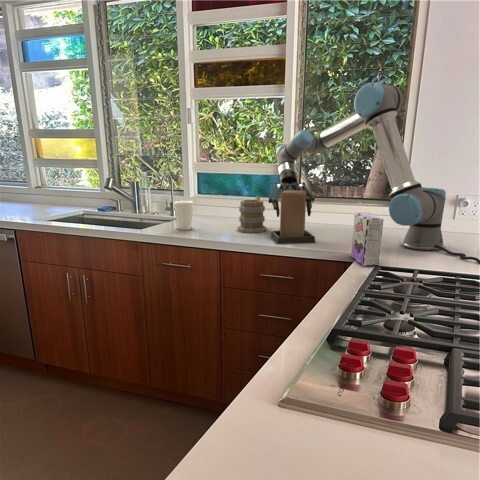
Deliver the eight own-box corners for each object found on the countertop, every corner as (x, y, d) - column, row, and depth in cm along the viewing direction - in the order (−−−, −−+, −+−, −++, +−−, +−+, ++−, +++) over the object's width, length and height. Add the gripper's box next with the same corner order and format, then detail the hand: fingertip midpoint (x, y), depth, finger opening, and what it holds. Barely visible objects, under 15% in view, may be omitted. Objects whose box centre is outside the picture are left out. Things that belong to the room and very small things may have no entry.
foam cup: (198, 228, 231) (197, 201, 226) (186, 231, 224) (185, 203, 219) (183, 226, 236) (181, 200, 231) (171, 229, 229) (169, 202, 224)
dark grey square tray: (314, 242, 196) (315, 236, 196) (277, 243, 195) (277, 237, 194) (305, 235, 211) (305, 230, 210) (271, 236, 210) (271, 230, 209)
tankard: (260, 233, 217) (261, 200, 212) (235, 231, 221) (235, 199, 215) (271, 226, 235) (272, 196, 229) (248, 225, 239) (248, 195, 233)
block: (302, 240, 197) (304, 192, 190) (279, 240, 199) (280, 192, 192) (304, 236, 207) (306, 190, 199) (282, 235, 208) (283, 189, 201)
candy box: (350, 257, 171) (354, 212, 165) (366, 256, 172) (370, 211, 166) (362, 266, 158) (366, 218, 152) (379, 266, 159) (384, 217, 153)
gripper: (313, 181, 211) (320, 219, 202) (259, 181, 208) (264, 220, 200) (317, 169, 204) (324, 208, 196) (261, 170, 201) (266, 209, 193)
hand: (294, 214), depth 198 cm, fingers open, 13 cm apart
